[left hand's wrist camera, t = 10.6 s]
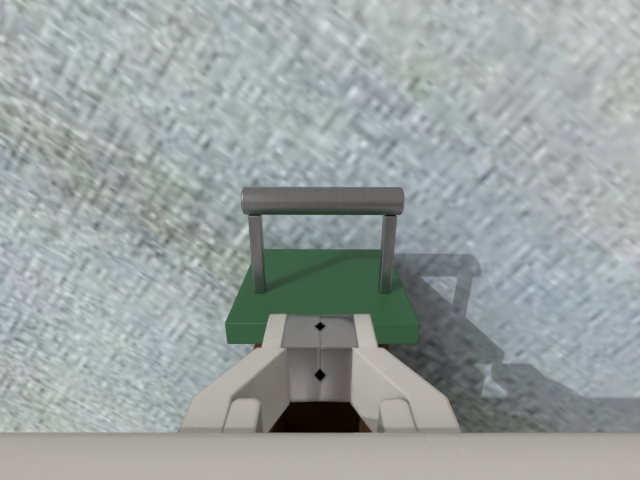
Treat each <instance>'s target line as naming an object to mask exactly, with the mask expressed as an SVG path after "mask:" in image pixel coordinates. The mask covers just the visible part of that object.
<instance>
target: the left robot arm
mask: <svg viewBox="0 0 640 480" xmlns="http://www.w3.org/2000/svg"><path fill="white" fill-rule="evenodd" d="M312 401H327V402H351V405H352V406H353V408H354V409H355V410H356V412H357V413H358V414H359V416H360V417H361V418H362V420H363V421H364V422H365V424H366V425H367V426H368V427H369V429H370V430H371V431H372V433H268V432H269V430H270V429H271V428H272V426H273V425H274V424H275V422H276V421H277V420H278V418H279V417H280V416H281V415H282V413H283V412H284V411H285V409H286V408H287V407H288V405H289V404H290V403H289V402H312ZM0 480H640V433H462V430H461V428H460V426H459V423H458V421H457V419H456V416H455V414H454V412H453V409H452V407H451V405H450V403H449V400H448V398H447V397H446V396H445V395H444V394H442V393H441V392H440V391H439V390H437V389H436V388H435V387H433V386H432V385H431V384H430V383H428V382H427V381H426V380H424V379H423V378H422V377H421V376H419V375H418V374H417V373H415V372H414V371H413V370H412V369H410V368H409V367H408V366H406V365H405V364H404V363H402V362H401V361H400V360H399V359H397V358H396V357H395V356H393V355H392V354H391V353H390V352H388V351H387V350H386V349H384V348H379V347H378V343H377V339H376V335H375V331H374V327H373V323H372V319H371V315H370V314H369V313H368V314H342V315H320V314H270V316H269V318H268V322H267V327H266V331H265V335H264V339H263V343H262V347H261V348H256V349H254V350H253V351H252V352H250V353H249V354H248V355H246V356H245V357H244V358H243V359H241V360H240V361H239V362H237V363H236V364H235V365H234V366H232V367H231V368H230V369H228V370H227V371H226V372H225V373H223V374H222V375H221V376H219V377H218V378H217V379H215V380H214V381H213V382H212V383H210V384H209V385H208V386H206V387H205V388H204V389H203V390H201V391H200V392H199V393H197V394H196V395H195V396H193V398H192V401H191V403H190V405H189V407H188V410H187V412H186V414H185V417H184V419H183V421H182V423H181V426H180V428H179V430H178V433H0Z"/></svg>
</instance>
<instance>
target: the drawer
mask: <svg viewBox="0 0 640 480" xmlns="http://www.w3.org/2000/svg"><path fill="white" fill-rule="evenodd" d="M241 206H242V211H243V213H244V214H245V215H249V216H248V222H249V235H250V248H251V261H252V262H251V265H250V267H249V269H248V272H247V274H246V276H245V278H244V281H243V283H242V285H241V288H240V290H239V292H238V295H237V297H236V299H235V301H234V304H233V306H232V308H231V311H230V313H229V315H228V318H227V320H226V322H225V328H226V336H227V343H228V344H255V345H254V349H256V348H261V347H262V343H263V339H264V335H265V331H266V327H267V322H268V318H269V316H270V314H320V315H342V314H368V313H369V314H370V315H371V319H372V323H373V327H374V331H375V335H376V339H377V343H378V347H379V348H384V349H386V350H387V351H388V352H390V353H391V349H390V346H389V344H417V342H418V335H419V327H420V323H419V321H418V319H417V316H416V314H415V312H414V310H413V307H412V305H411V303H410V301H409V299H408V296H407V294H406V292H405V290H404V288H403V285H402V283H401V281H400V279H399V276H398V274H397V272H396V270H395V268H394V265H393V257H394V246H395V234H396V223H397V216H396V215H401V214H402V212H403V209H404V192H403V189H402V188H401V187H244V188H243V189H242V193H241ZM262 215H383V224H382V238H381V250H307V249H264V242H263V226H262ZM254 349H253V350H254ZM391 354H392V353H391ZM289 403H290V404H289V405H288V407H287V408H286V409H285V411H284V412H283V413H282V415H281V416H280V417H279V418H278V420H277V421H276V422H275V424H274V425H273V426H272V428H271V429H270V430H269V432H268V433H372V431H371V430H370V429H369V427H368V426H367V425H366V424H365V422H364V421H363V420H362V418H361V417H360V416H359V414H358V413H357V412H356V410H355V409H354V408H353V406H352V405H351V402H327V401H312V402H289Z"/></svg>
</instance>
